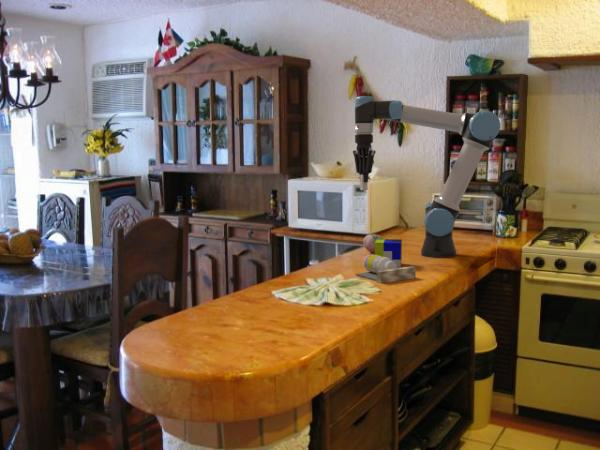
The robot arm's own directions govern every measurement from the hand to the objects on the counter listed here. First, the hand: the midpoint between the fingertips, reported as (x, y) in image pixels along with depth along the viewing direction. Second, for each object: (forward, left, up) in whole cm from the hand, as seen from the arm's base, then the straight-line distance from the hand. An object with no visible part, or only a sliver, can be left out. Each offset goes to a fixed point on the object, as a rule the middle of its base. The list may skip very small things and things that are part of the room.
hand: (363, 189), depth 262 cm
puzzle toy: (+2, +19, -30) cm, 35 cm away
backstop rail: (+18, +43, -29) cm, 55 cm away
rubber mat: (+18, +35, -29) cm, 49 cm away
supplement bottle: (+18, +27, -25) cm, 41 cm away
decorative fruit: (-10, -7, -30) cm, 32 cm away
